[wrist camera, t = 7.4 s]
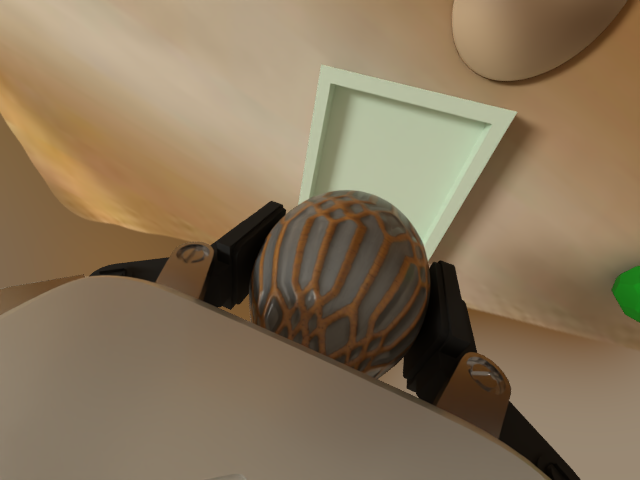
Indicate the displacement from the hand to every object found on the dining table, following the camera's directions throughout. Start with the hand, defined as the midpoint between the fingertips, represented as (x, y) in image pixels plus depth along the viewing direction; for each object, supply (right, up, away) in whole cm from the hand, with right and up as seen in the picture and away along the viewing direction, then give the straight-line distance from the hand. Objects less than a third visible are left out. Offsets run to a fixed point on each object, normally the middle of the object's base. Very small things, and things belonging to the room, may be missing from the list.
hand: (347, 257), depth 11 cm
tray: (+5, +7, +12) cm, 14 cm away
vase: (+1, +1, +2) cm, 2 cm away
